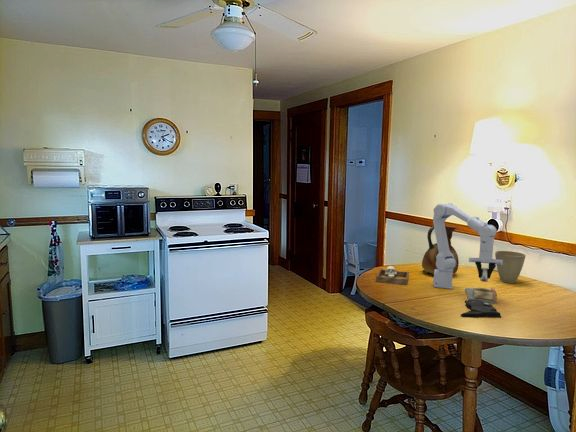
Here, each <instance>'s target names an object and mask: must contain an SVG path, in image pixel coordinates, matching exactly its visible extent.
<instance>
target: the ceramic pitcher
mask: <svg viewBox="0 0 576 432" xmlns="http://www.w3.org/2000/svg"><path fill="white" fill-rule="evenodd" d="M445 229H446V234H447V239H448V245H449V250H450V252H451V253H452V254H453V256H454V259H455V260H456V266H455V267H454V269H453V275H454V274H455V275H456V273H457V272H458V269H459V264H460V263H459V261H460V260H459V255H458V253H457V250H456V249H455V248H454V246H452V240H451V239H452V238H453V232H454V231H455V230H456V229H458V227H457V226H456V225H454V226H453V225H447V224H445ZM434 230H435V229H434V225H432V226H431V227H429V229H428V232H427V237H426V238H427V242H428V249H427V250H426V251H425V253H424V254H423V257H422V260H421V267H422V269H423V270H424V271H425V272H427V273H429V274H432V275H434V269H438V268H437V267H436V256H437V255H438V253H439V251H438V246H437V242H436V243H434V244H433V242H432V233H433V231H434Z"/></svg>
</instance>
